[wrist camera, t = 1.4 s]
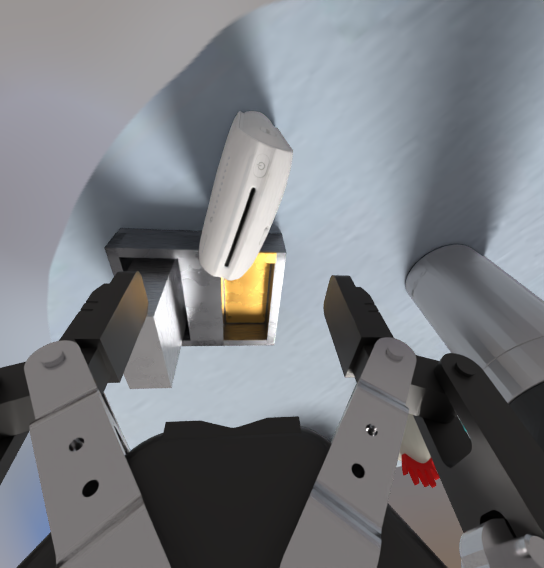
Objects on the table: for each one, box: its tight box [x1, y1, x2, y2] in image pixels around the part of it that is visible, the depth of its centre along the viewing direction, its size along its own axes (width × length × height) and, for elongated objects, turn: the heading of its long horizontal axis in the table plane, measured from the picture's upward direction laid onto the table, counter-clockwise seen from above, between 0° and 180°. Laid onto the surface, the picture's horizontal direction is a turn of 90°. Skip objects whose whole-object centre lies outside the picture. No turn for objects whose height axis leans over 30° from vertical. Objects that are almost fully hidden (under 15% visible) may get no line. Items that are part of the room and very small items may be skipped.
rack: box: [105, 228, 286, 389], centre depth 29 cm, size 17×14×11 cm
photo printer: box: [199, 111, 293, 280], centre depth 21 cm, size 10×4×12 cm, turn 158°
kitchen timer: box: [398, 414, 440, 488], centre depth 49 cm, size 14×14×15 cm
